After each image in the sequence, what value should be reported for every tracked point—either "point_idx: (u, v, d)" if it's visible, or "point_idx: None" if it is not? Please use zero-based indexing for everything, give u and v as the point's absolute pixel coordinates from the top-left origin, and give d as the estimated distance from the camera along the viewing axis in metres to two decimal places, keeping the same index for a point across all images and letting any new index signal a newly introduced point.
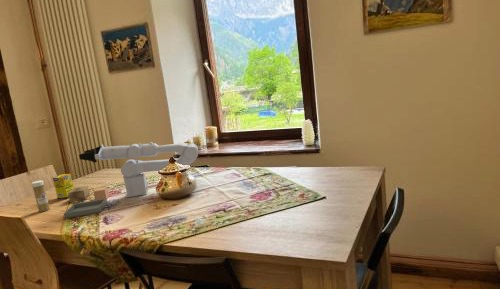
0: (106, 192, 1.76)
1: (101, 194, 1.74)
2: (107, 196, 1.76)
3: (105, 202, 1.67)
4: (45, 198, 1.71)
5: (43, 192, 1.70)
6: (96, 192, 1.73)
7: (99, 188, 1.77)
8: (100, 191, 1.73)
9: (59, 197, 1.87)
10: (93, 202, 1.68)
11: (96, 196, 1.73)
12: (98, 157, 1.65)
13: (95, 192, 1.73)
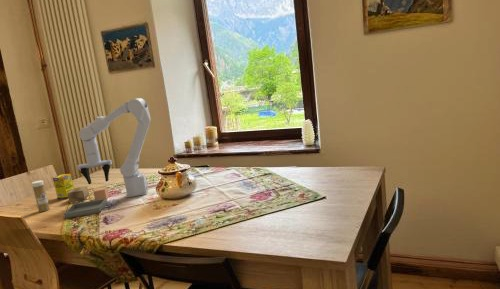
0: (106, 192, 1.76)
1: (101, 194, 1.74)
2: (107, 196, 1.76)
3: (105, 202, 1.67)
4: (45, 198, 1.71)
5: (43, 192, 1.70)
6: (96, 192, 1.73)
7: (99, 188, 1.77)
8: (100, 191, 1.73)
9: (59, 197, 1.87)
10: (93, 202, 1.68)
11: (96, 196, 1.73)
12: None
13: (95, 192, 1.73)
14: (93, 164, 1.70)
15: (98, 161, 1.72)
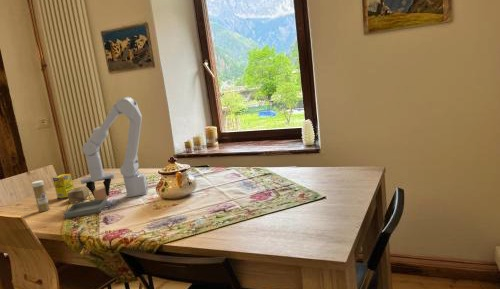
0: None
1: (101, 194, 1.74)
2: (107, 196, 1.76)
3: (105, 202, 1.67)
4: (45, 198, 1.71)
5: (43, 192, 1.70)
6: (96, 192, 1.73)
7: (99, 188, 1.77)
8: (100, 191, 1.73)
9: (59, 197, 1.87)
10: (93, 202, 1.68)
11: (95, 196, 1.73)
12: None
13: (95, 192, 1.73)
14: (96, 178, 1.72)
15: (101, 175, 1.73)
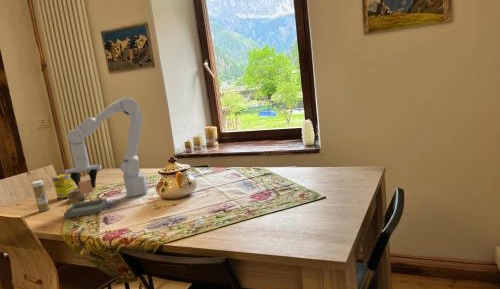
0: None
1: (86, 186, 1.63)
2: (93, 188, 1.65)
3: (105, 202, 1.67)
4: (45, 198, 1.71)
5: (43, 192, 1.70)
6: (81, 183, 1.62)
7: (85, 179, 1.66)
8: (85, 182, 1.63)
9: (59, 197, 1.87)
10: (93, 202, 1.68)
11: (81, 188, 1.63)
12: None
13: (80, 183, 1.62)
14: (81, 169, 1.61)
15: (87, 166, 1.62)
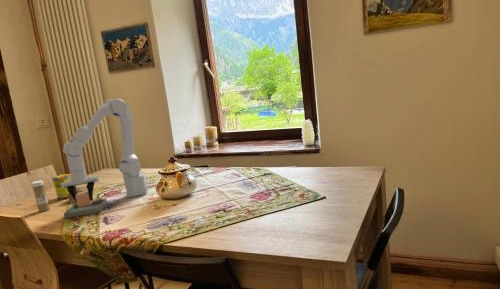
0: None
1: (84, 199, 1.59)
2: (90, 201, 1.62)
3: (105, 202, 1.67)
4: (45, 198, 1.71)
5: (43, 192, 1.70)
6: (78, 196, 1.59)
7: (81, 192, 1.62)
8: (83, 195, 1.59)
9: (59, 197, 1.87)
10: (93, 202, 1.68)
11: (78, 201, 1.59)
12: None
13: (77, 197, 1.59)
14: (79, 182, 1.57)
15: (84, 178, 1.59)
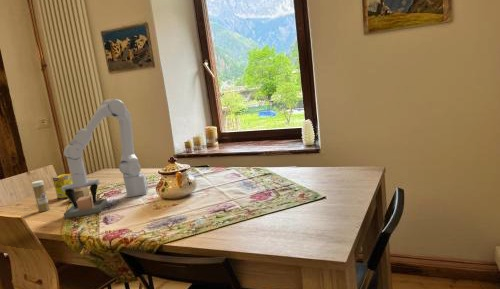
0: (91, 201, 1.62)
1: (85, 204, 1.60)
2: (92, 206, 1.62)
3: (105, 202, 1.67)
4: (45, 198, 1.71)
5: (43, 192, 1.70)
6: (80, 202, 1.59)
7: (83, 197, 1.63)
8: (84, 200, 1.60)
9: (59, 197, 1.87)
10: (93, 202, 1.68)
11: (79, 206, 1.59)
12: None
13: (79, 202, 1.59)
14: (80, 185, 1.58)
15: (85, 181, 1.59)
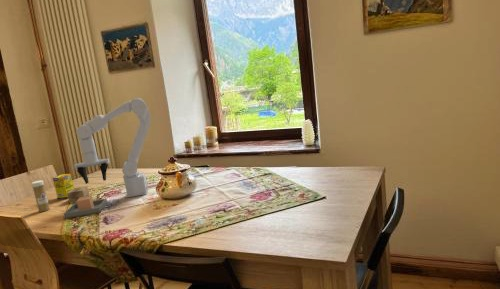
0: (91, 201, 1.62)
1: (85, 204, 1.60)
2: (92, 206, 1.62)
3: (105, 202, 1.67)
4: (45, 198, 1.71)
5: (43, 192, 1.70)
6: (80, 202, 1.59)
7: (83, 197, 1.63)
8: (84, 200, 1.60)
9: (59, 197, 1.87)
10: (93, 202, 1.68)
11: (79, 206, 1.59)
12: None
13: (79, 202, 1.59)
14: (90, 163, 1.67)
15: (95, 160, 1.68)
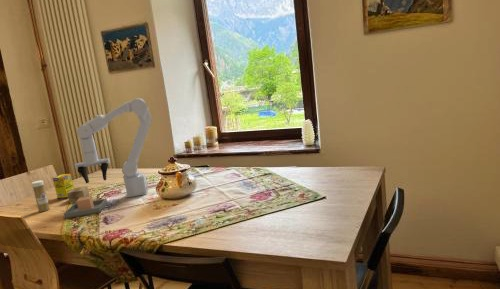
0: (91, 201, 1.62)
1: (85, 204, 1.60)
2: (92, 206, 1.62)
3: (105, 202, 1.67)
4: (45, 198, 1.71)
5: (43, 192, 1.70)
6: (80, 202, 1.59)
7: (83, 197, 1.63)
8: (84, 200, 1.60)
9: (59, 197, 1.87)
10: (93, 202, 1.68)
11: (79, 206, 1.59)
12: None
13: (79, 202, 1.59)
14: (90, 163, 1.67)
15: (96, 160, 1.69)
